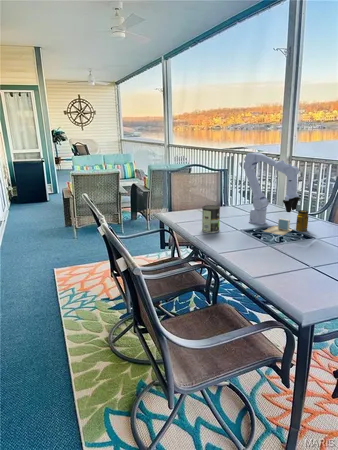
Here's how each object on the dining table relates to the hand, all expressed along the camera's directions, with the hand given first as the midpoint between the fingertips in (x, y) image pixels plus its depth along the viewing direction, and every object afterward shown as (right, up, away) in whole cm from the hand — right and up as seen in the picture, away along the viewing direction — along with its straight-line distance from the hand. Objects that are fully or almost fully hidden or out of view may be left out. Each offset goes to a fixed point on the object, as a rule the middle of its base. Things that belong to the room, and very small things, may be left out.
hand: (291, 210), depth 187 cm
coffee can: (-47, -12, +2) cm, 48 cm away
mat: (-8, -12, -2) cm, 15 cm away
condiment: (+6, -12, -2) cm, 14 cm away
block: (-5, -11, 0) cm, 12 cm away
